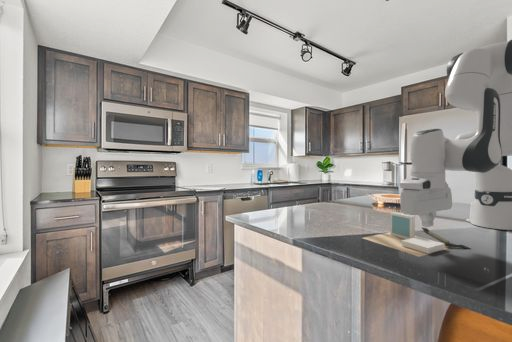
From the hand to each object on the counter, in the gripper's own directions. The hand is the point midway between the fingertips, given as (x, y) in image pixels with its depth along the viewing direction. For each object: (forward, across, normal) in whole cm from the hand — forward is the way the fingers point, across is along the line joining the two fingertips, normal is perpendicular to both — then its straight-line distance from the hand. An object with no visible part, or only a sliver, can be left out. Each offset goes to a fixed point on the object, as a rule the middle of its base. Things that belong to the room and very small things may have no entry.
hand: (427, 226), depth 77 cm
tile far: (+6, -2, -10) cm, 12 cm away
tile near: (+5, -2, 0) cm, 6 cm away
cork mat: (+7, +2, -6) cm, 9 cm away
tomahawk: (+7, -12, -3) cm, 14 cm away
